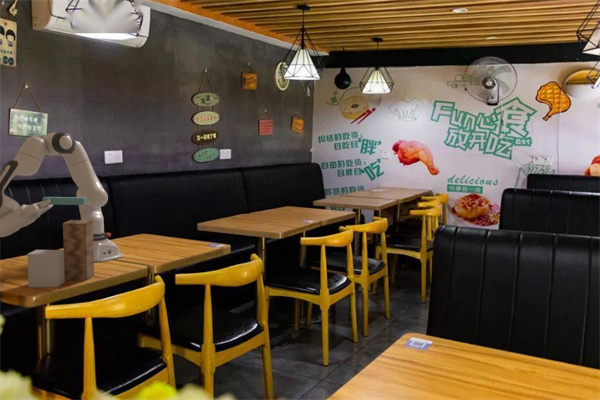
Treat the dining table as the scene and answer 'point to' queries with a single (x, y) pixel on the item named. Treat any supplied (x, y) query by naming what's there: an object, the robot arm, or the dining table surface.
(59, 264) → the grey block
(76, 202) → the rail
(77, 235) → the stand
